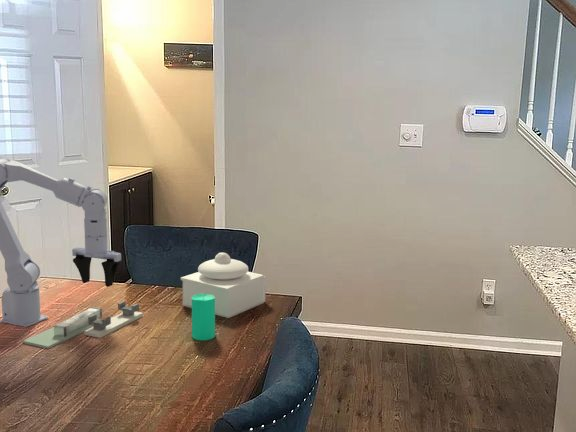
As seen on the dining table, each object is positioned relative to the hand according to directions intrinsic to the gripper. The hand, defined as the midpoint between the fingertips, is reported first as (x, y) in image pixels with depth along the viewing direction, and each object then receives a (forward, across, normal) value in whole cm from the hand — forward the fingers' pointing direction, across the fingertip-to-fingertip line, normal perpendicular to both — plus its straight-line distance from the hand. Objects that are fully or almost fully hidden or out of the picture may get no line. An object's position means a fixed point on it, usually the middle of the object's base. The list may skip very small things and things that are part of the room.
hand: (97, 283), depth 172 cm
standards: (+10, +7, -2) cm, 12 cm away
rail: (+9, 0, -8) cm, 12 cm away
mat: (+10, -2, -14) cm, 17 cm away
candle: (+10, +32, +1) cm, 34 cm away
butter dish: (+10, +25, +26) cm, 37 cm away
